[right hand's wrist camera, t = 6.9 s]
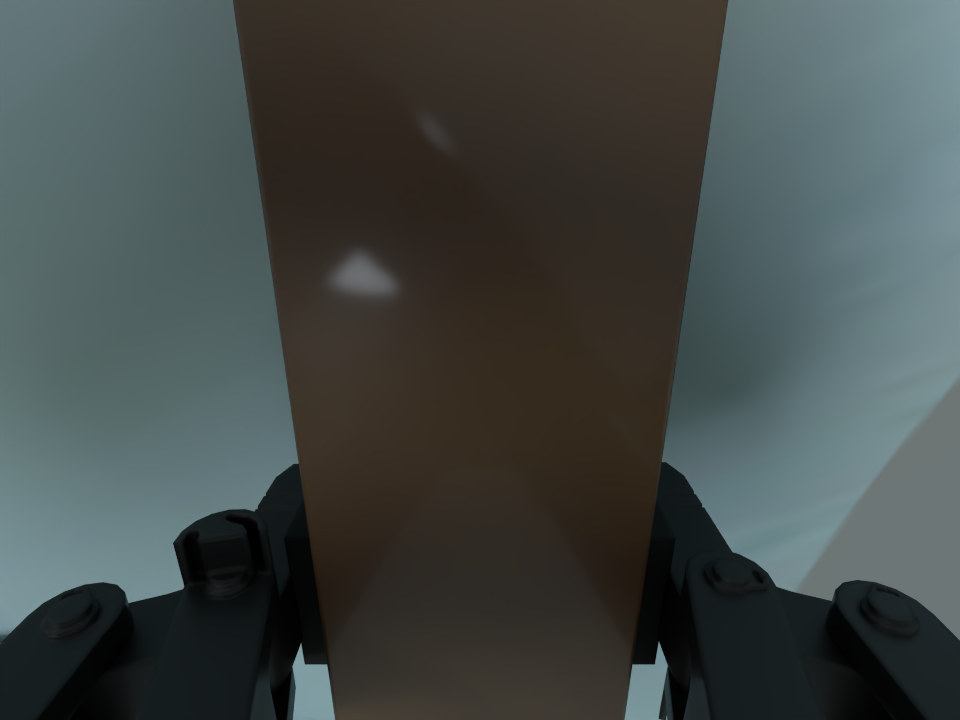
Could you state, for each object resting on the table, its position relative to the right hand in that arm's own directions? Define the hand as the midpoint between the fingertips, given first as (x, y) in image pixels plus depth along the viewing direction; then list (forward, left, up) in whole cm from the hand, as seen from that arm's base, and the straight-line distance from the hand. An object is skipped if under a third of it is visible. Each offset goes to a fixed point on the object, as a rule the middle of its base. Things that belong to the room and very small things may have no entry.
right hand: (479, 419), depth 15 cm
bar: (+27, +20, -1) cm, 33 cm away
